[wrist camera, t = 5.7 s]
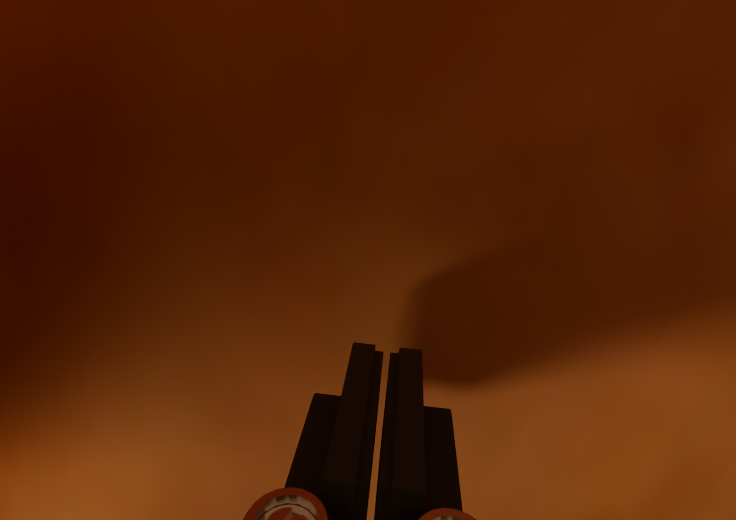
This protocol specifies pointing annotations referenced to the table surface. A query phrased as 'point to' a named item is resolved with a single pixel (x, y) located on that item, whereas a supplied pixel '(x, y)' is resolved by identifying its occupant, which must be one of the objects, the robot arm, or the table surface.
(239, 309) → the table surface
